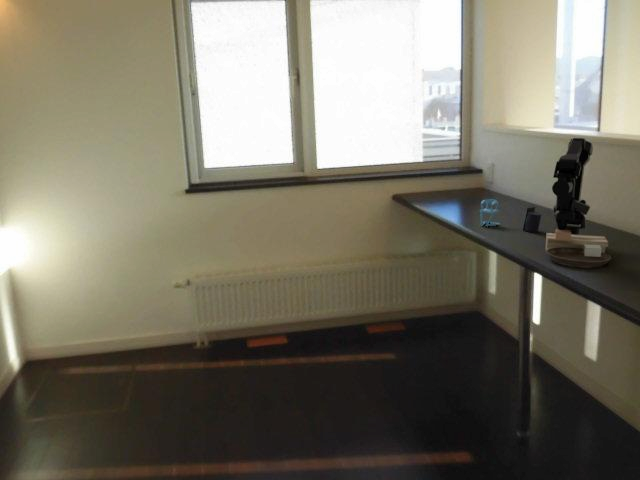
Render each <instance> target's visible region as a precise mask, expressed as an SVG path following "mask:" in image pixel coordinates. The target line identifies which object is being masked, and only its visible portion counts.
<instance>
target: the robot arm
mask: <svg viewBox="0 0 640 480" xmlns="http://www.w3.org/2000/svg"><path fill="white" fill-rule="evenodd" d="M593 149H594V147H593V143H591V142H589V141H587V140H586V138H580V137H573V138H570V141H568V145H567V151H566V153H565V154H563V155H561V156H560V157H559V159H558V160H557V161H556V163H555V168H554V172H553V178H554V179H557V180H556V181H555V182H554V183H553V184H552V187H551V191H552V193H553V194H554V195H555V197H556V200H555V205H554V206H553V209H552V210H553V213H555V214H554V219H555V222H556V226H557V230H570V231H571V234H573V235H580V230H584V229H586V217H585V215H588V213H589V211H590V208H591V206H590V205H589V204H587V201H586V200H585V199H583V198H581V196H582V188H583V180H584V171H585V166H586V165H587V164H588V163H589V162H590V160H591V156H593Z"/></svg>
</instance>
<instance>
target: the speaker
mask: <svg viewBox="0 0 640 480" xmlns="http://www.w3.org/2000/svg"><path fill="white" fill-rule="evenodd" d="M541 219H542V213H541V212H538V211H536V206H532V207H527V208H526V214H525V218H524V223H523V228H522V231H523V232H524V231H526V232H529V233H538V232H539V228H540V223H541Z"/></svg>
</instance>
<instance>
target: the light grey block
mask: <svg viewBox="0 0 640 480" xmlns="http://www.w3.org/2000/svg"><path fill="white" fill-rule="evenodd" d="M601 249H602V248H601V246H600V245H586V244H584V255H585V256H593V257H601Z"/></svg>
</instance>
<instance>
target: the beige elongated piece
mask: <svg viewBox="0 0 640 480" xmlns="http://www.w3.org/2000/svg"><path fill="white" fill-rule="evenodd" d="M545 238H546V239H545V252H546V253H547V250H548V249H551V248H560V247H569V248H582V249H584V244H586V245H600V246H601V248H602V249H601V252H602V253H605V254H606V247H607V248H608V247H609V241H608V240H607V238H606V237H605V236H604V235H590V234H588V235H587V234H579V235H573V234H571V241H561V240H555V232H554V233H551V232H546V236H545Z"/></svg>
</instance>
